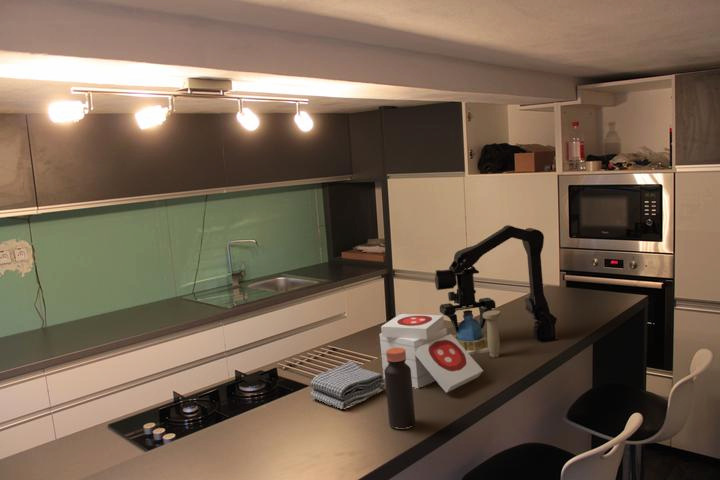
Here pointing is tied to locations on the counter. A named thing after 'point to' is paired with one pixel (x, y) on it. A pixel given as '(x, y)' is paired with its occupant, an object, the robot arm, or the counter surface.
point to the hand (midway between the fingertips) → (469, 330)
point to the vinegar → (399, 389)
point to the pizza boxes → (428, 351)
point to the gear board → (474, 345)
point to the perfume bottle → (469, 328)
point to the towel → (346, 385)
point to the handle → (492, 332)
